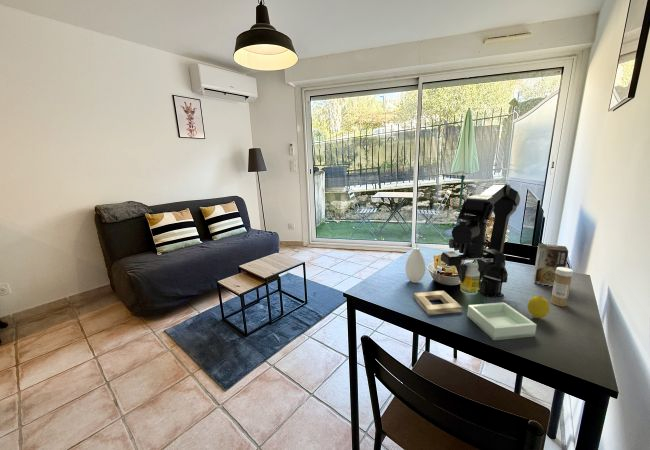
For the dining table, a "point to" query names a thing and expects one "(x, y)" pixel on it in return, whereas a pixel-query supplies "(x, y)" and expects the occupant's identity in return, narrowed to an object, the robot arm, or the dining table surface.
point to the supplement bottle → (471, 279)
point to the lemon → (538, 307)
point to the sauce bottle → (415, 266)
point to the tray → (501, 321)
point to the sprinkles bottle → (561, 286)
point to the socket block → (430, 309)
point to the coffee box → (549, 263)
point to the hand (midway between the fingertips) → (469, 281)
